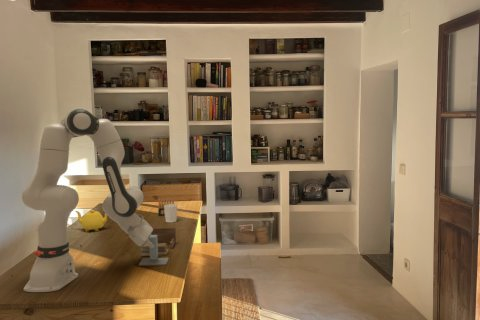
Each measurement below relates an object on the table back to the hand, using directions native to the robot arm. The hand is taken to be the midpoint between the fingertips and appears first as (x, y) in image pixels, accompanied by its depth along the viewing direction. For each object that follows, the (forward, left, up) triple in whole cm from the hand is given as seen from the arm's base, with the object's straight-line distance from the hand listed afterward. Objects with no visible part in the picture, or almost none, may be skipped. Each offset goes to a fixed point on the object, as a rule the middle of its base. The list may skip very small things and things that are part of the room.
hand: (154, 245), depth 196 cm
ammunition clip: (+89, +9, -8) cm, 90 cm away
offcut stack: (+12, +3, -8) cm, 14 cm away
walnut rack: (+24, +1, -8) cm, 26 cm away
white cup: (+74, +4, -8) cm, 75 cm away
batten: (0, +1, -6) cm, 6 cm away
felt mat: (0, +1, -8) cm, 8 cm away
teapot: (+59, +47, -8) cm, 76 cm away
